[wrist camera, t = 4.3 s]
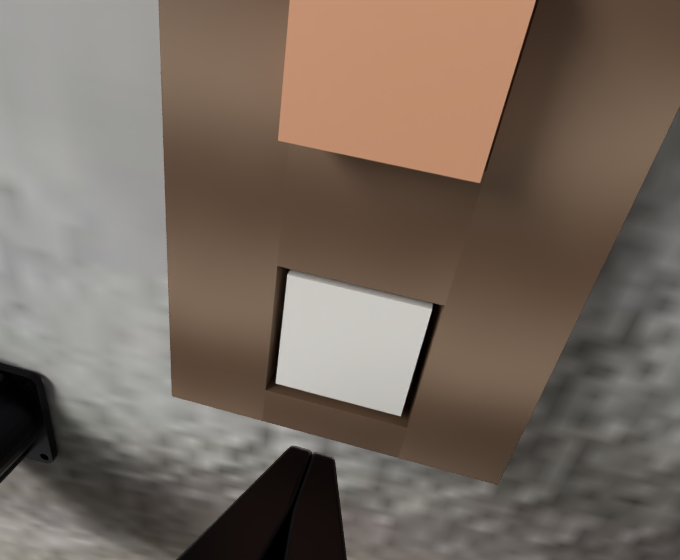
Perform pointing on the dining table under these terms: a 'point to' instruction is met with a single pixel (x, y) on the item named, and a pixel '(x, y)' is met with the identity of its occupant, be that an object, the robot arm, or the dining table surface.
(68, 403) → the dining table surface
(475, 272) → the panel
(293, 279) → the button
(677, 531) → the dining table surface
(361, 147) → the button
